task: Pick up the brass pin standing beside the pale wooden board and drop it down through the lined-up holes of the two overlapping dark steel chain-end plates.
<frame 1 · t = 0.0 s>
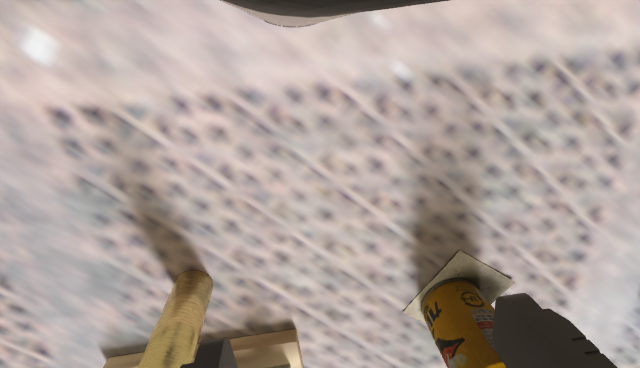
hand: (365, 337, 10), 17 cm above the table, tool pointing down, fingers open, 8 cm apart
brass pin: (194, 284, 30), on the table
condiment: (455, 294, 33), on the table
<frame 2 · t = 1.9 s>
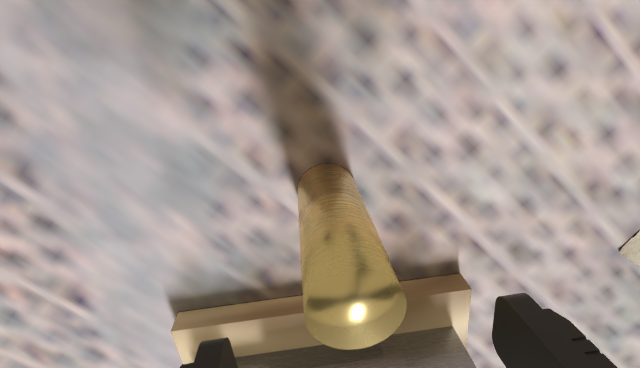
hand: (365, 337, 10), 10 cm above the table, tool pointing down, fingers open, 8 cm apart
brass pin: (326, 190, 19), on the table
chain ends: (329, 358, 24), on the table
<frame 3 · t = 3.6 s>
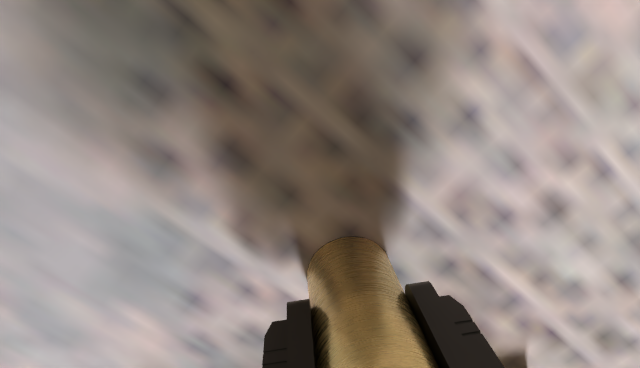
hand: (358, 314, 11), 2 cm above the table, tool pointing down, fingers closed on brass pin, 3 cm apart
brass pin: (348, 272, 13), on the table, touching gripper
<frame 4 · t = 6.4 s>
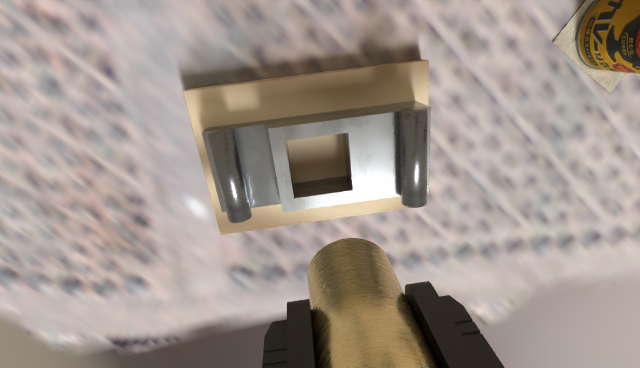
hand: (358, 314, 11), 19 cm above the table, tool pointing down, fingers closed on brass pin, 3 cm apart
brass pin: (349, 274, 13), point 17 cm above the table, touching gripper
condiment: (618, 20, 27), on the table
chain ends: (315, 148, 28), on the table
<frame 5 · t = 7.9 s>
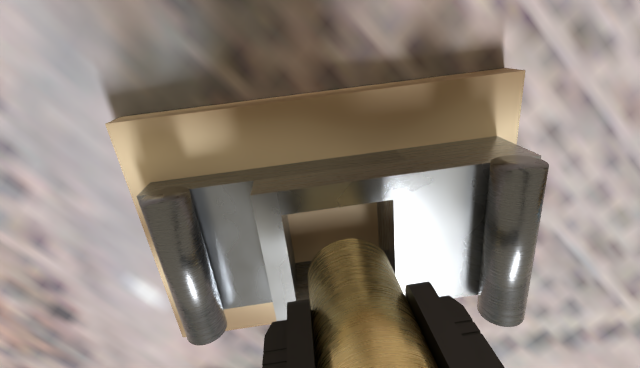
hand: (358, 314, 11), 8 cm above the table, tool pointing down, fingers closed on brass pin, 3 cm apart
brass pin: (349, 274, 13), point 6 cm above the table, touching gripper
chain ends: (330, 206, 18), on the table
when the fingers open (6 cm above the table, at t = 9.0 s): brass pin drops 2 cm, resting on chain ends.
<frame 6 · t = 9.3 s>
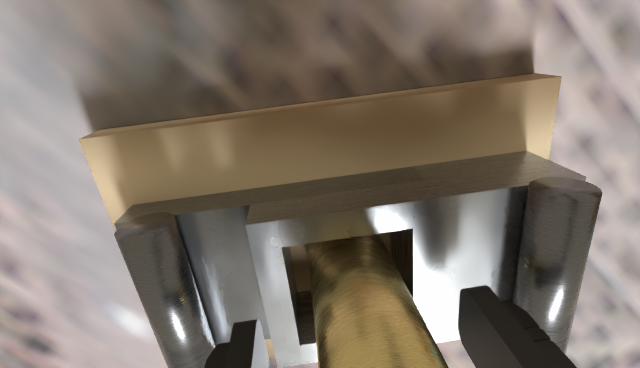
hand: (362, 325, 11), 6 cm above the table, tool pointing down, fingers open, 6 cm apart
brass pin: (343, 245, 15), point 2 cm above the table, touching chain ends
chain ends: (336, 227, 16), on the table
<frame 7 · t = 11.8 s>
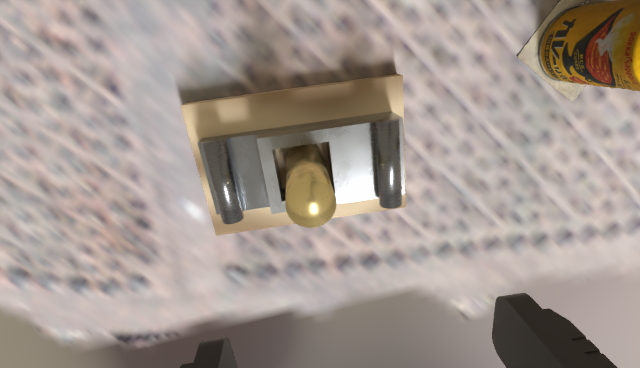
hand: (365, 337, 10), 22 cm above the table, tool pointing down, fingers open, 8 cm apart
brass pin: (304, 160, 30), point 1 cm above the table, touching chain ends
condiment: (576, 36, 29), on the table
chain ends: (302, 155, 31), on the table
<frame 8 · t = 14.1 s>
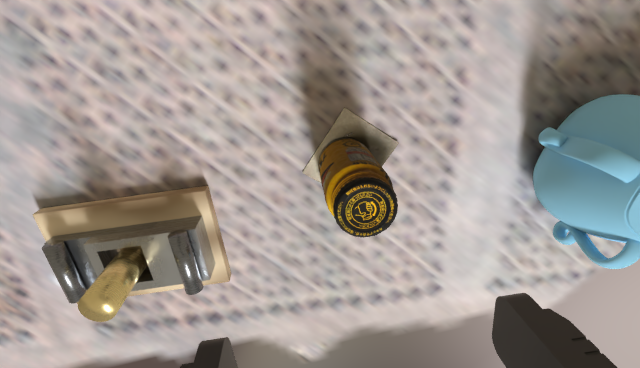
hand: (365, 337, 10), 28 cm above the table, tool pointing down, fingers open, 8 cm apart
brass pin: (138, 250, 38), point 2 cm above the table, touching chain ends
condiment: (349, 156, 38), on the table
decorative pot: (583, 157, 41), on the table
chain ends: (143, 243, 40), on the table
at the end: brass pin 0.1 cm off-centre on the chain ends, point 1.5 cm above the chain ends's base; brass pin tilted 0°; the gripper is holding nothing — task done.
